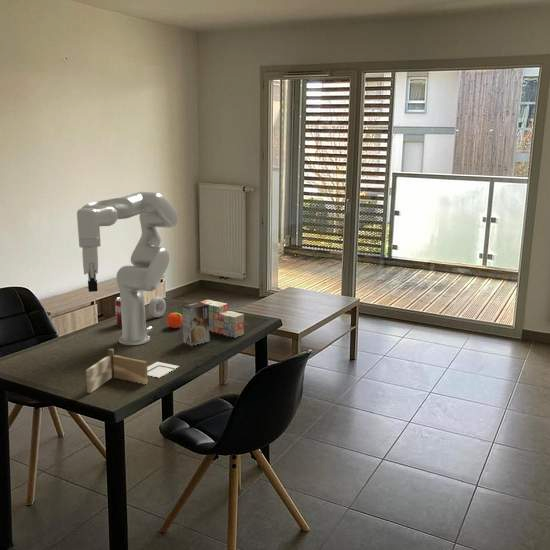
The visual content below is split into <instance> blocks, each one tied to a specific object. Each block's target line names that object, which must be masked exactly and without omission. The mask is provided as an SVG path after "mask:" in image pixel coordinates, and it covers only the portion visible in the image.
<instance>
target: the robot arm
mask: <svg viewBox="0 0 550 550" xmlns="http://www.w3.org/2000/svg"><path fill="white" fill-rule="evenodd" d="M135 216H139V222H140V228H141V235H140V238H139V240H138V242H137V244H136V245H135V247H134V249H133V251H132V253H131V256H130V263H131V265H124V266H122V267H120V268H119V269H118V271H117V272H116V283H117V286H118V287H117V288H118V290H119V298H120V299H121V316H122V327H121V328H122V329H121V330H122V331H121V333H122V335H121V336H120V337H119V338H118V342H119V343H120V344H122V345H125V346H138V345H139V346H140V345H143V344H147V343H148V342H150V341H151V336H150V335H149V334H148V333H149V332H151V331H153V327H152V326H151V325H150V326H147V323H146V308H145V307H146V305H145V304H146V303H145V296H144V294H143V292H153V291H155V290H156V289H157V288H158V286H159V285H160V283H161V280H162V279H163V276H164V274H165V273H166V271H167V270H168V269H167V268H168V266H169V262H170V253H169V252H168V250H167V249H166V248H165V247H162V246H160V245H161V236H160V234H159V232H158V230H157V228H166V229H169V228H174V227H175V226H176V225H177V224H178V221H179V214H178V212H177V210H176V208H175V206H174V205H172V204H171V202H170V201H169V200H168V199H167V198H166V197H165V196H164V195H162V194H161V193H160V192H154V191H153V192H147V191H139V192H135V193H131V194H129V195H125V196H120V197H115V198H109V199H103V200H96V201H93V202H89V203H86V204H85V205H83V206H82V207H81V208H79V209H77V211H76V219H77V220H76V221H77V234H78V247H79V248H82V249H81V251H82V252H81V253H82V268H83V274H84V275H87V277H88V280H87V285H88V286H87V289H88V292H89V293H92V292H95V293H96V292H98V280H97V274H98V273H99V253H98V248H99V247H101V245H102V244H101V230H100V227H111V226H113V225H115V224H116V222H117V221H118V220H125V219H129V218H132V217H135Z"/></svg>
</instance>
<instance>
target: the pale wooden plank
mask: <svg viewBox="0 0 550 550" xmlns="http://www.w3.org/2000/svg"><path fill="white" fill-rule="evenodd" d="M85 375H86V386H87V387H86V388H87V394H88V393H89V394H91V393H93V392H94V391H95V390H97V389H99V387H101V386H103V385H104V384H105V383H106V382H108V381H109V380H111V379H112V378H113V377H112V367H111V356H108V355H107V356H105V357H103V358H102V359H100V360H99V361H98V362H96V363H94V364H93V365H92V366H90V367H88V368H87V369H86V370H85Z"/></svg>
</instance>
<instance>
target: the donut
mask: <svg viewBox="0 0 550 550" xmlns="http://www.w3.org/2000/svg"><path fill="white" fill-rule="evenodd" d="M157 305H158V309H156V307H157ZM166 308H167V304H166V301H165V298H163V297H161V296H155V297H152V298H151V299H150V301H149V304H148V313H149V315H150V316H151V317H152V318H154V319H155V318H157V317H158V318H161V317H162V316H163V315H164V314H165V312H166Z"/></svg>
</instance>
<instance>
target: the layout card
mask: <svg viewBox="0 0 550 550" xmlns="http://www.w3.org/2000/svg"><path fill="white" fill-rule="evenodd" d="M178 367H179V368H180V366H179V365H176V364H175V365H174V364H170V363H165V362H160V361H156V362H154V363H152V364H150V365H147V373H148V377H151V376H152V377H151V378H155V377H157V378H156V379H160V377H161V378H162V376H163V377H164V376H166V375H168V374H170V373H172V372H173V371H175V370H177V369H178ZM176 368H177V369H176ZM171 371H172V372H171ZM169 372H170V373H169Z"/></svg>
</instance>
